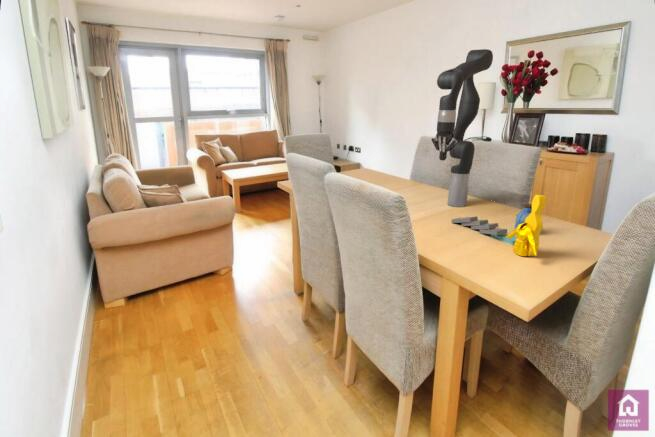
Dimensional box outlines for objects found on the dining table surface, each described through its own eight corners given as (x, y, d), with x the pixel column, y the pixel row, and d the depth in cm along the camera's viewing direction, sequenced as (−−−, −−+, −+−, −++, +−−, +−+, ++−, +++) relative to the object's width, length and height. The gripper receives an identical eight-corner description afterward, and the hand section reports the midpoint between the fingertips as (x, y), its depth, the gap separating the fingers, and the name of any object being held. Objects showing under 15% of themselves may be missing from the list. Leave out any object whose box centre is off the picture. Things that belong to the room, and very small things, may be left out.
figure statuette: (500, 244, 140) (509, 189, 133) (519, 243, 141) (529, 188, 133) (529, 265, 123) (541, 203, 116) (550, 263, 124) (563, 202, 117)
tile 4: (489, 227, 153) (507, 228, 143) (489, 231, 153) (507, 233, 143) (479, 229, 151) (496, 230, 142) (479, 233, 152) (497, 235, 142)
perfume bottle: (530, 230, 154) (535, 203, 150) (532, 235, 149) (538, 207, 145) (514, 228, 156) (518, 202, 152) (516, 233, 151) (521, 206, 147)
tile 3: (479, 223, 158) (497, 223, 148) (480, 227, 158) (498, 227, 148) (470, 225, 156) (488, 225, 146) (471, 229, 156) (489, 229, 146)
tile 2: (469, 220, 162) (487, 219, 153) (469, 224, 162) (488, 223, 153) (461, 222, 160) (479, 221, 151) (461, 226, 160) (480, 225, 151)
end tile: (499, 231, 150) (521, 238, 141) (498, 234, 150) (521, 242, 142) (491, 233, 148) (513, 240, 139) (490, 237, 148) (512, 245, 140)
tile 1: (458, 217, 166) (477, 216, 157) (459, 221, 166) (477, 220, 157) (451, 219, 163) (469, 218, 155) (451, 223, 163) (470, 222, 155)
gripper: (428, 120, 161) (425, 159, 167) (454, 122, 151) (449, 163, 157) (439, 119, 165) (435, 157, 171) (464, 121, 155) (460, 161, 161)
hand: (442, 160), depth 164 cm, fingers closed
